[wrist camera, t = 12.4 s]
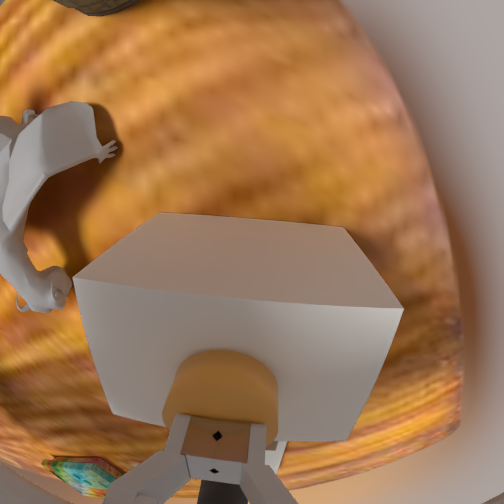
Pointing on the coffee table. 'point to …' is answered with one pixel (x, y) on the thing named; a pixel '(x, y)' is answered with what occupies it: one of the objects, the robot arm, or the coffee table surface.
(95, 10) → the thermos
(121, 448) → the coffee table surface
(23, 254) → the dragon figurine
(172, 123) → the coffee table surface
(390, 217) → the coffee table surface
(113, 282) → the rail base
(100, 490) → the puzzle game
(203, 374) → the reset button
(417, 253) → the coffee table surface
